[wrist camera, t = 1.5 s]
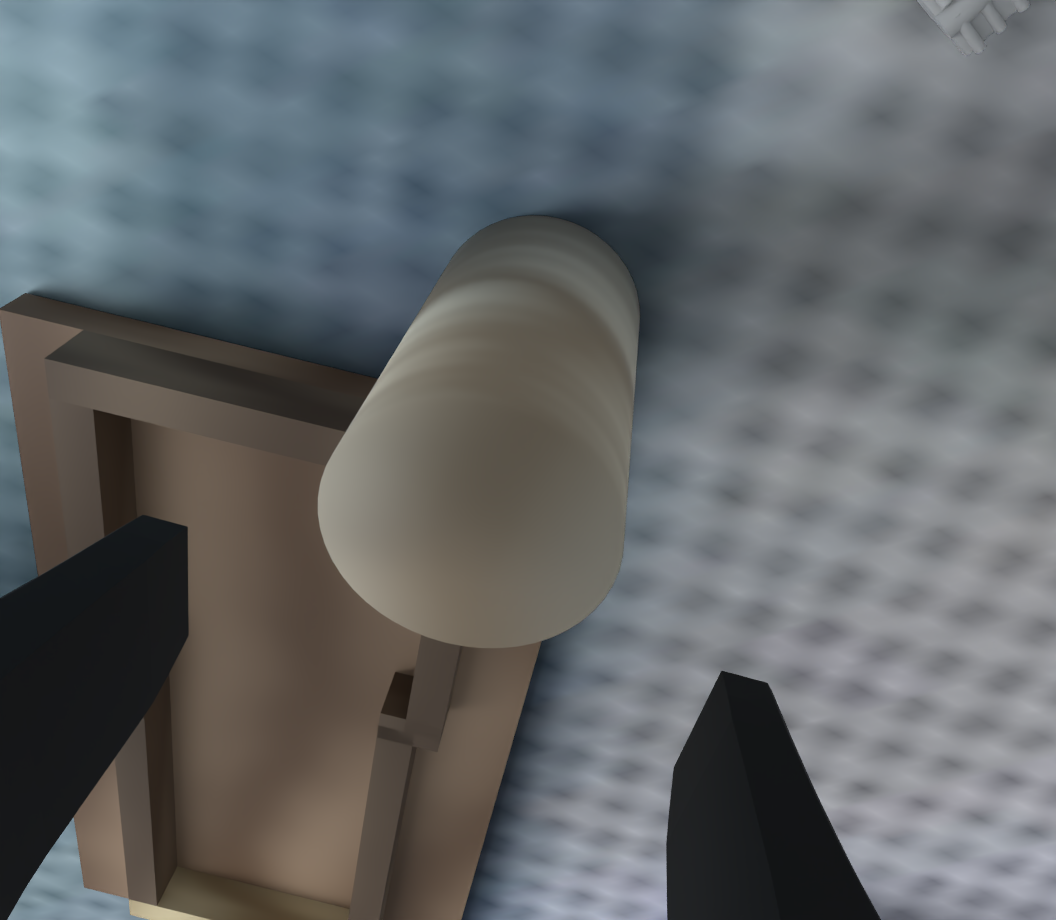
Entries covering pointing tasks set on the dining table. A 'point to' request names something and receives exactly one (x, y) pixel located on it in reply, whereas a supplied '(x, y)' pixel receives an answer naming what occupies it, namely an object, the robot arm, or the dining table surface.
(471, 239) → the ash peg
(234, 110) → the dining table surface
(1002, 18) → the grey toy camera
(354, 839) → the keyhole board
